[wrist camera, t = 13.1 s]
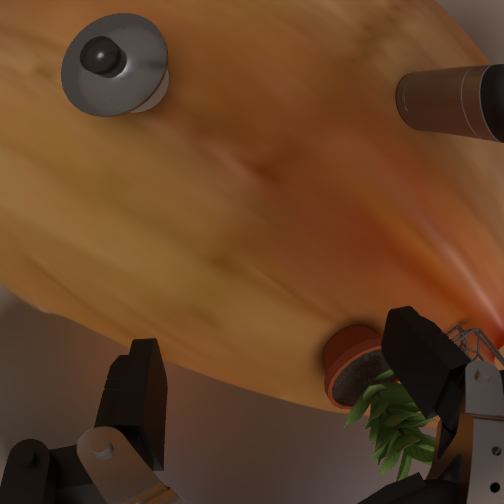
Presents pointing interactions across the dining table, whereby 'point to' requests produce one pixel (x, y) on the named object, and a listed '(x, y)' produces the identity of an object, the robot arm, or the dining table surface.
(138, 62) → the lid
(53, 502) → the robot arm
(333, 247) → the dining table surface
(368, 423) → the potted plant
